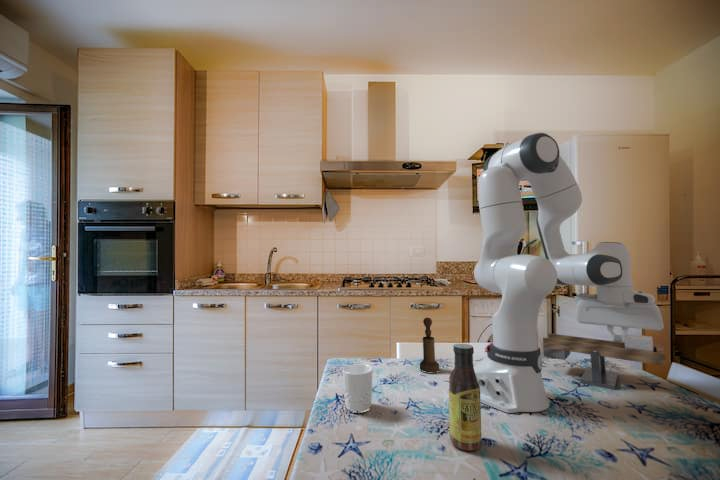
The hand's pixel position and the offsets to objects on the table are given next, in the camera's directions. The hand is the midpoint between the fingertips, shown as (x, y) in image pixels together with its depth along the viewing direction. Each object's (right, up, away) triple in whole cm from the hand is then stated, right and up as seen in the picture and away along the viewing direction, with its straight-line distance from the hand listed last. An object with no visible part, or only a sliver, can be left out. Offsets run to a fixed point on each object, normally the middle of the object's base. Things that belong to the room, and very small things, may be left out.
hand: (618, 341), depth 93 cm
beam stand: (-4, -13, +3) cm, 13 cm away
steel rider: (+3, -2, -3) cm, 5 cm away
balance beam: (-3, -7, +3) cm, 8 cm away
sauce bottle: (-56, -12, -29) cm, 64 cm away
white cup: (-79, -14, -12) cm, 81 cm away
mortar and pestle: (-54, -15, +14) cm, 58 cm away
